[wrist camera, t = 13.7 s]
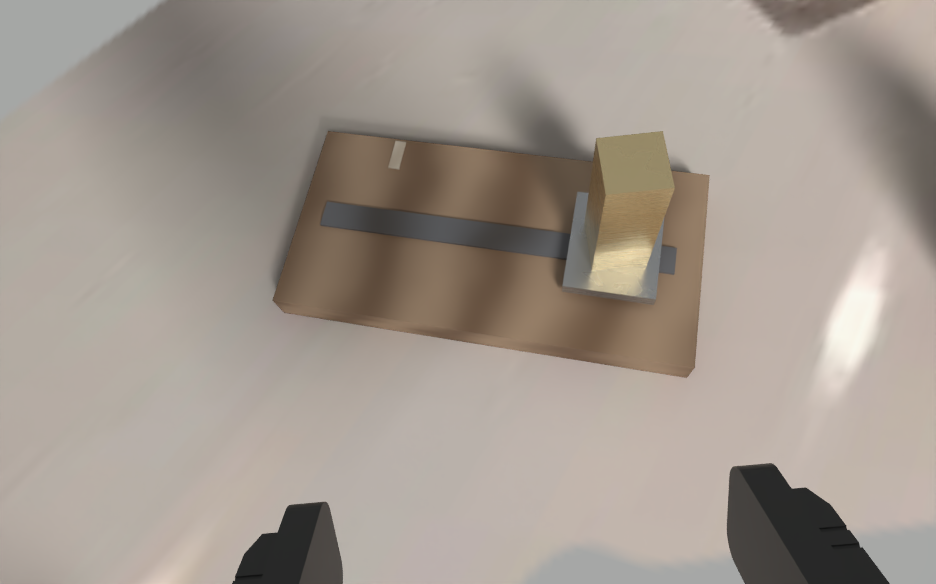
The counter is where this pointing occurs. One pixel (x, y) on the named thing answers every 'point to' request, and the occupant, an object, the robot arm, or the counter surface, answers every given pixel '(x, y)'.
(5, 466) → the counter surface
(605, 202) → the fader lever
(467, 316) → the fader board
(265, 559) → the robot arm
